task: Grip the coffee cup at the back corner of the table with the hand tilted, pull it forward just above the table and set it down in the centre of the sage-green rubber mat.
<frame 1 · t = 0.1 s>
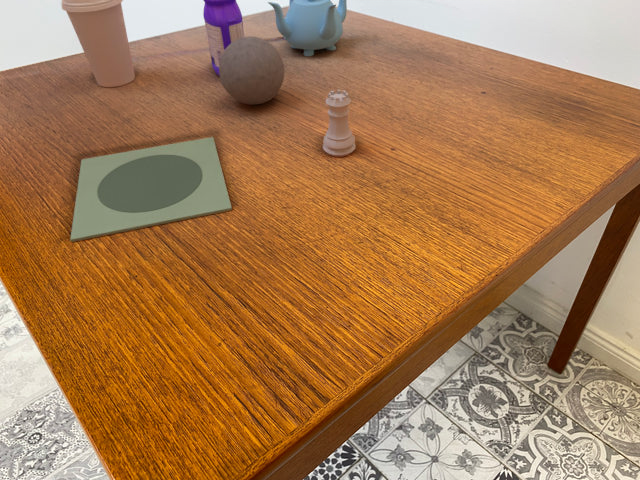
rook chess piece: (339, 150, 70), on the table
teapot: (313, 48, 101), on the table
coffee cup: (116, 80, 92), on the table
mat: (151, 184, 66), on the table
decorative ball: (256, 102, 83), on the table
bottle: (231, 74, 92), on the table
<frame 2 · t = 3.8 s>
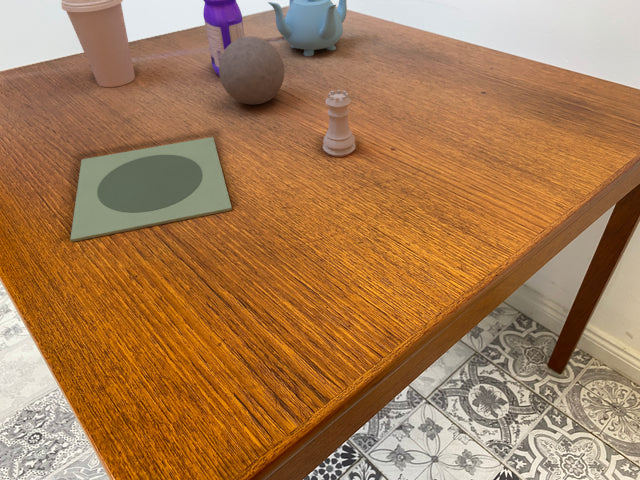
nothing on the table moved.
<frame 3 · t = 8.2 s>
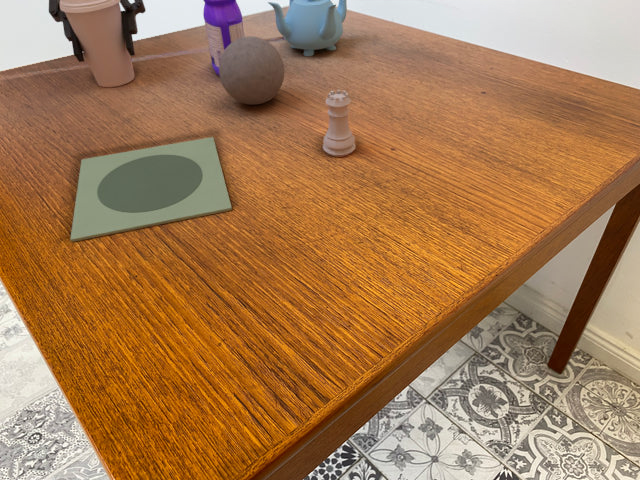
hand: (105, 54, 86), 6 cm above the table, tool tilted 45°, fingers closed on coffee cup, 8 cm apart
coffee cup: (116, 80, 92), on the table, touching gripper
everything else where it was.
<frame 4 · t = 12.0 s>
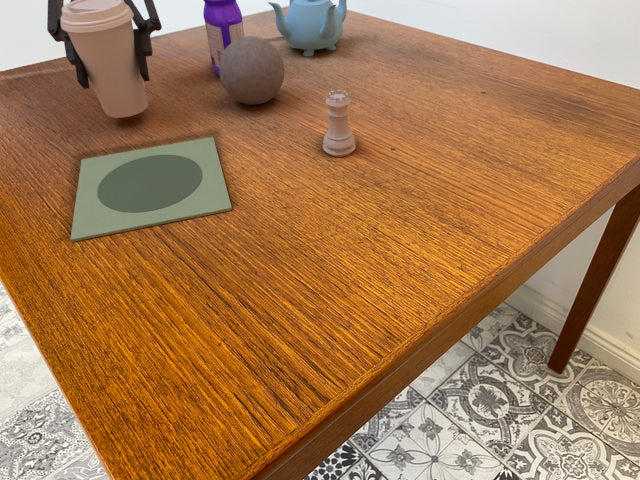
hand: (114, 80, 73), 8 cm above the table, tool tilted 45°, fingers closed on coffee cup, 8 cm apart
coffee cup: (127, 108, 79), point 2 cm above the table, touching gripper
everything else where it was.
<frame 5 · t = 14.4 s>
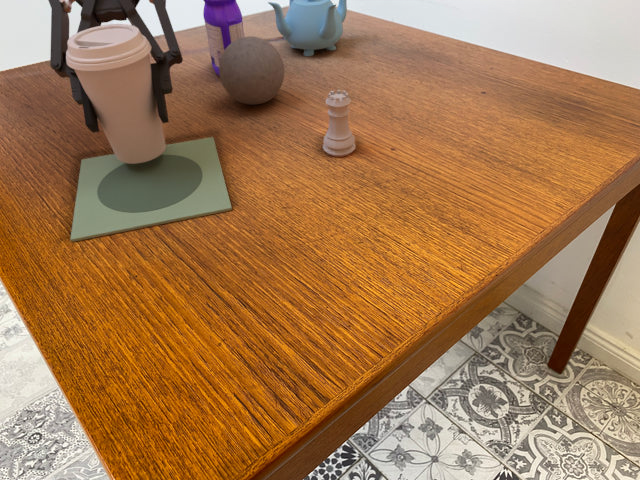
hand: (128, 123, 62), 8 cm above the table, tool tilted 45°, fingers closed on coffee cup, 8 cm apart
coffee cup: (141, 151, 69), point 2 cm above the table, touching gripper
everything else where it was.
when the fingers open (6 cm above the table, at t = 16.3 s): coffee cup stays where it is, resting on mat.
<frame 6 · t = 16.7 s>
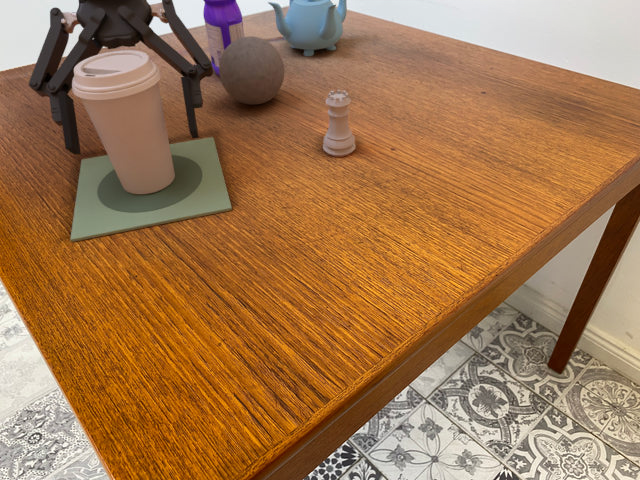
hand: (134, 143, 59), 7 cm above the table, tool tilted 45°, fingers open, 13 cm apart
coffee cup: (149, 181, 66), resting on mat
everything else where it was.
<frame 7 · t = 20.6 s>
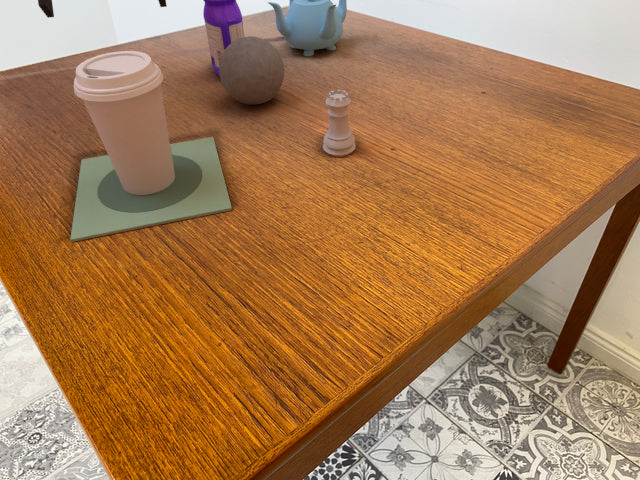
hand: (105, 6, 63), 18 cm above the table, tool tilted 45°, fingers open, 13 cm apart
nothing on the table moved.
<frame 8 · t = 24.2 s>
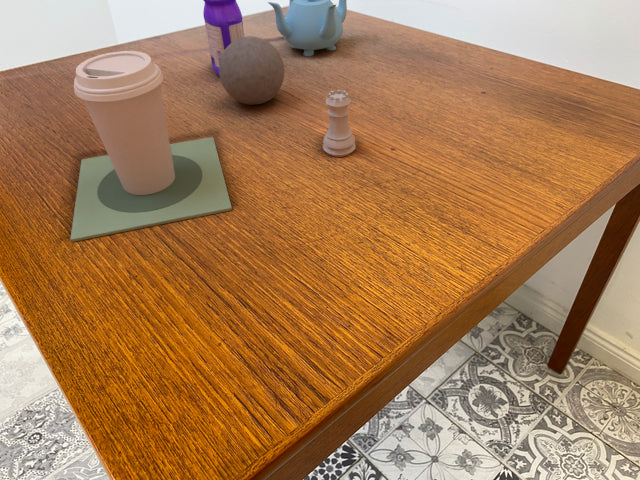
nothing on the table moved.
at the end: coffee cup inside the target area on the mat (0.3 cm from its centre), point 0.3 cm above the mat's base; coffee cup tilted 0°; the gripper is holding nothing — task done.
